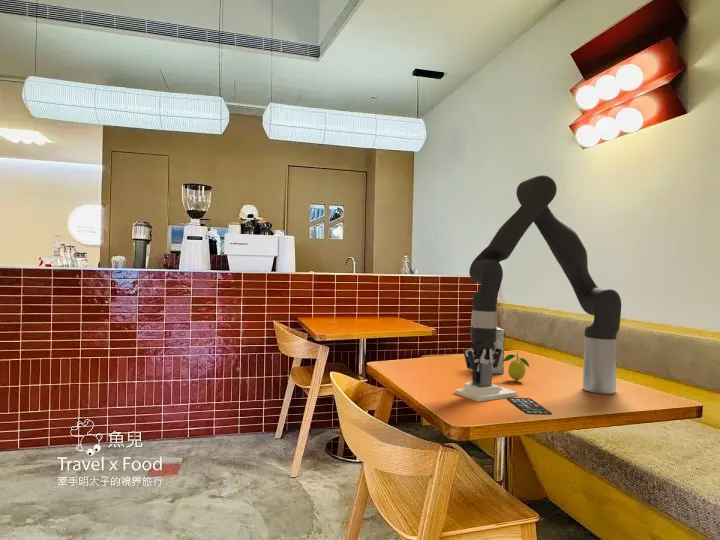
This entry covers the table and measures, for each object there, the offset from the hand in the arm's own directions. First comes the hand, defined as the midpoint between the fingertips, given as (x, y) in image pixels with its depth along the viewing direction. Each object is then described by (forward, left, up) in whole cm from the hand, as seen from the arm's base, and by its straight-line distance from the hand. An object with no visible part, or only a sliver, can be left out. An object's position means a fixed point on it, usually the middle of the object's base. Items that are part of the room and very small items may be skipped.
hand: (481, 382), depth 142 cm
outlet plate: (-2, 0, -4) cm, 4 cm away
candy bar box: (-31, -25, -4) cm, 40 cm away
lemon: (-25, -9, -4) cm, 27 cm away
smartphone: (-4, +14, -4) cm, 15 cm away
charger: (0, 0, -2) cm, 2 cm away
